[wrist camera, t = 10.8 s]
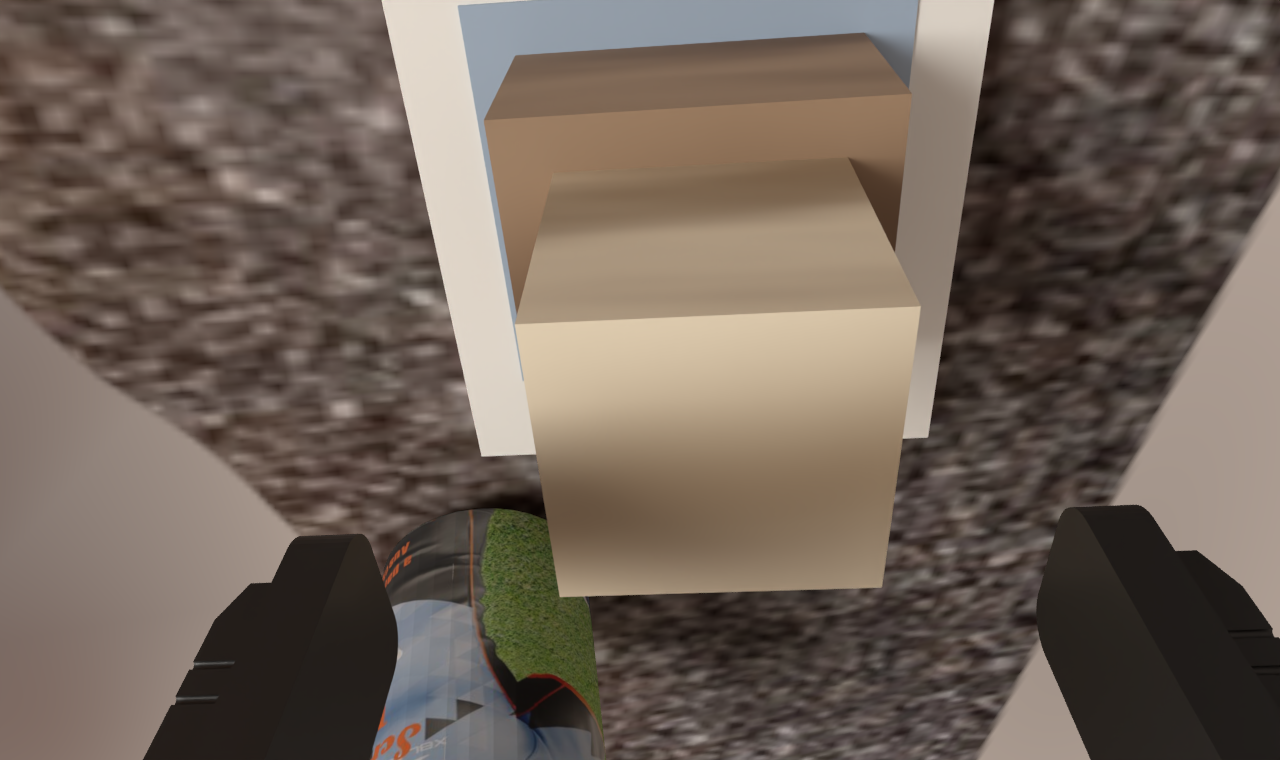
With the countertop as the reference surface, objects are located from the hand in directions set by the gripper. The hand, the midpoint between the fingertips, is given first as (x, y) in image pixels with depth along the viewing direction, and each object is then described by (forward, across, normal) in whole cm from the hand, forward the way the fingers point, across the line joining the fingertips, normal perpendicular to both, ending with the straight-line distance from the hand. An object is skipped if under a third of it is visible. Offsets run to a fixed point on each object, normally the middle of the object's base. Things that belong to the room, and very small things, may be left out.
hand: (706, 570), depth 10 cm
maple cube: (+7, 0, 0) cm, 7 cm away
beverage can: (+12, +6, +12) cm, 18 cm away
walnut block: (+11, 0, 0) cm, 11 cm away
